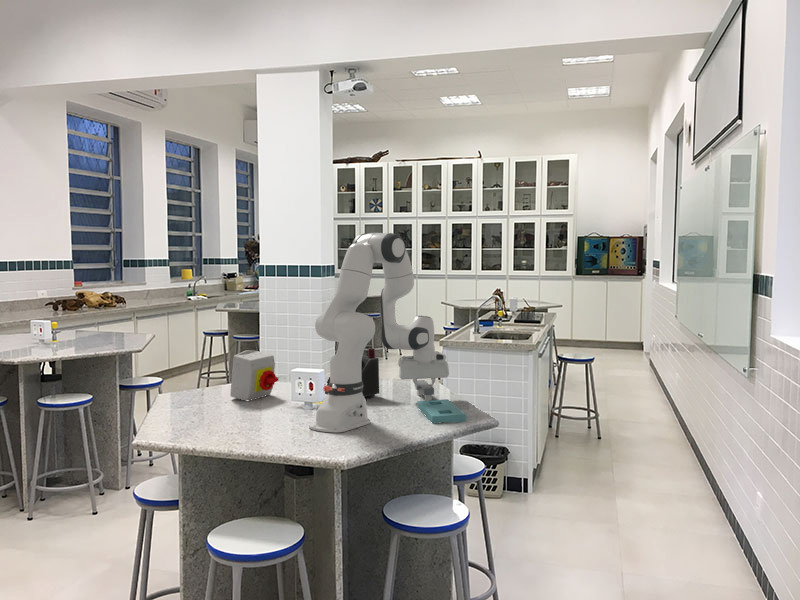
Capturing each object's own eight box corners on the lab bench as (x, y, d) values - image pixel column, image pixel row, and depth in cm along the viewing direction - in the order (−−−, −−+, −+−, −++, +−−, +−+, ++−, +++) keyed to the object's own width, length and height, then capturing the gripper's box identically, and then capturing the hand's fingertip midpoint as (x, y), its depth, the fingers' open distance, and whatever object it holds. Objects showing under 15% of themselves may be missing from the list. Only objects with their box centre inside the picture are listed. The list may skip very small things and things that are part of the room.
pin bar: (434, 402, 250) (434, 388, 249) (424, 402, 249) (424, 388, 249) (424, 392, 267) (423, 380, 267) (414, 393, 267) (414, 380, 266)
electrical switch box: (256, 408, 256) (260, 360, 254) (229, 399, 264) (233, 352, 261) (280, 401, 269) (284, 355, 266) (254, 392, 276) (258, 347, 274)
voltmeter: (324, 397, 265) (323, 349, 264) (355, 391, 276) (354, 345, 275) (348, 403, 253) (346, 353, 252) (379, 396, 264) (378, 349, 263)
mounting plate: (465, 421, 222) (465, 414, 222) (432, 423, 220) (432, 416, 220) (447, 405, 246) (447, 399, 246) (417, 407, 244) (417, 401, 243)
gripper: (399, 357, 252) (400, 392, 253) (449, 355, 256) (450, 389, 257) (397, 355, 258) (397, 389, 259) (445, 353, 262) (446, 386, 263)
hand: (424, 389), depth 258 cm, fingers closed on pin bar, 4 cm apart
